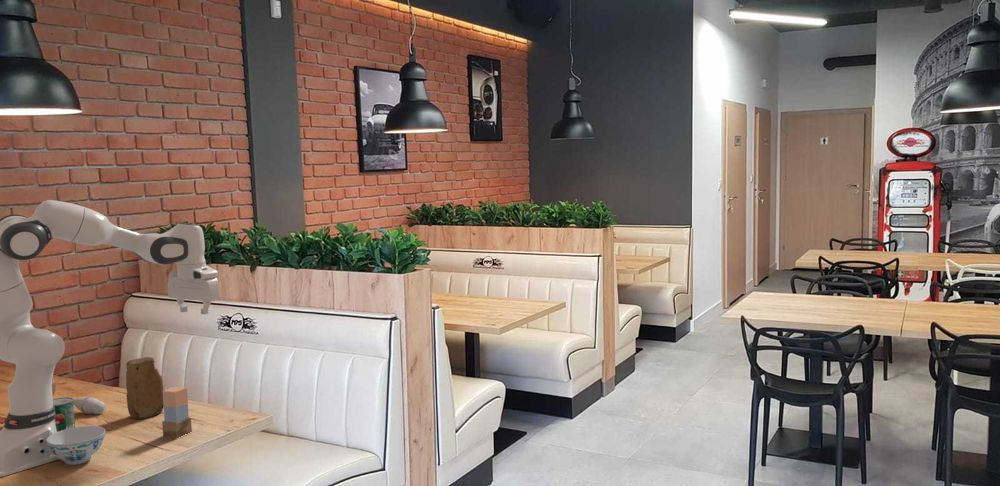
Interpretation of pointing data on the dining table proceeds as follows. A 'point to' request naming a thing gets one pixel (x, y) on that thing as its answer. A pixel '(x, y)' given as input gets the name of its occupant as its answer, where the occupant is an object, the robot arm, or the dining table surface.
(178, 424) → the tower base
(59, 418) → the canned tomato
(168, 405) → the cube
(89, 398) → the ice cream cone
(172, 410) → the tower mid
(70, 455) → the chinaware
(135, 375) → the brown oval lump
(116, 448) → the dining table surface
